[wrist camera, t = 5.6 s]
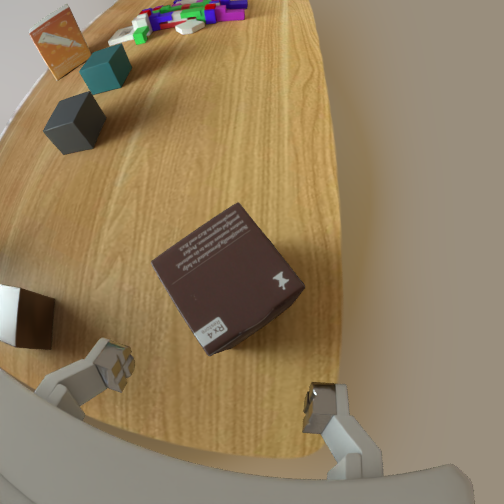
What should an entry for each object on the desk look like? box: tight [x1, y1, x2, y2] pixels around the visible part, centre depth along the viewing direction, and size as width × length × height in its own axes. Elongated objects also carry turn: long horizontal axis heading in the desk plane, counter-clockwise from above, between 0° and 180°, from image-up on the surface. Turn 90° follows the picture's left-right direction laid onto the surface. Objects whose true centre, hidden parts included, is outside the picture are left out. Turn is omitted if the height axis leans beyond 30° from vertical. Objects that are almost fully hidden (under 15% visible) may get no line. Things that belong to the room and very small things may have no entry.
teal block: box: [79, 43, 132, 95], centre depth 28 cm, size 5×5×5 cm
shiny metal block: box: [0, 284, 55, 350], centre depth 18 cm, size 5×5×5 cm
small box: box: [29, 4, 92, 80], centre depth 29 cm, size 8×6×13 cm
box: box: [151, 203, 305, 356], centre depth 17 cm, size 6×6×7 cm
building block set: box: [108, 0, 248, 46], centre depth 35 cm, size 25×20×4 cm
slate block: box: [43, 91, 106, 155], centre depth 25 cm, size 5×5×5 cm
